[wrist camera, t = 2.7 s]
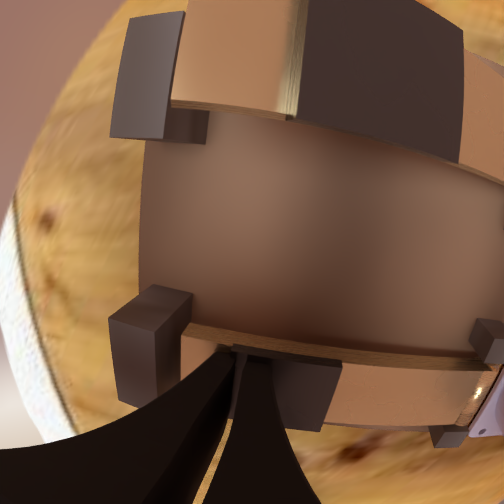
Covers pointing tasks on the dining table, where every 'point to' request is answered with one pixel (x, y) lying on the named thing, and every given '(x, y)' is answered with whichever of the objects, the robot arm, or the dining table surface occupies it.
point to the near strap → (346, 74)
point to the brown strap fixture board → (296, 236)
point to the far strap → (348, 380)
